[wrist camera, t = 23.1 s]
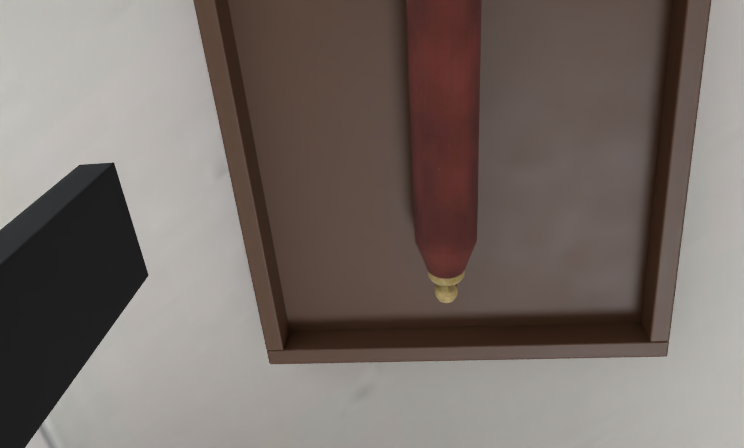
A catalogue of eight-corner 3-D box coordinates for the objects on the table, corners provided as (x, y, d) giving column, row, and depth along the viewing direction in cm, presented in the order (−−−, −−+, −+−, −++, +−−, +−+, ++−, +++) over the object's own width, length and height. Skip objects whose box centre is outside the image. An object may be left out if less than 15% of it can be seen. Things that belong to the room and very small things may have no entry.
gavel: (573, 335, 26) (324, 333, 28) (556, 269, 30) (339, 269, 32) (653, -352, 16) (240, -311, 17) (612, -318, 20) (278, -286, 21)
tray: (140, -357, 21) (113, -378, 19) (743, -456, 19) (773, -489, 17) (278, 339, 33) (269, 364, 31) (655, 330, 30) (667, 357, 29)
